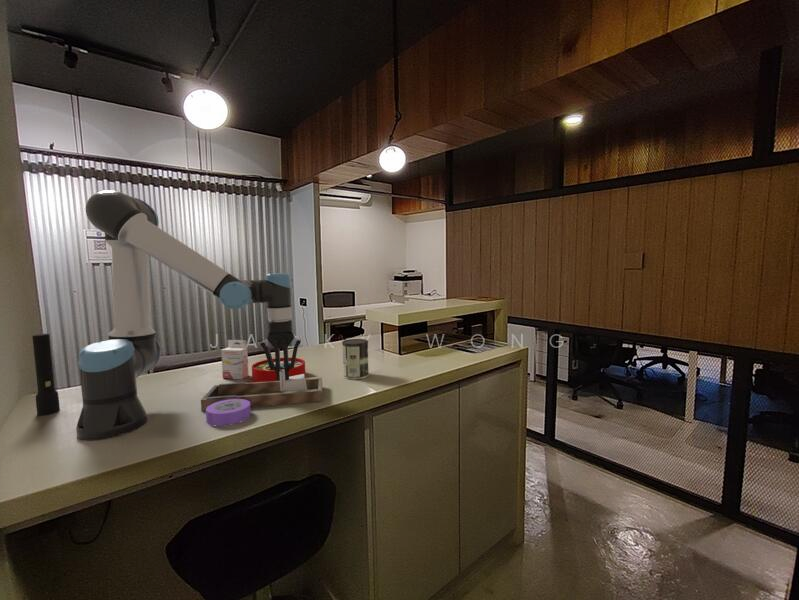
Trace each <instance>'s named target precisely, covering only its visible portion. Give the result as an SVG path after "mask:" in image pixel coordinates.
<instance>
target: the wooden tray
mask: <svg viewBox="0 0 799 600" xmlns="http://www.w3.org/2000/svg"><path fill="white" fill-rule="evenodd" d="M305 380H306V386H307V390H299V391H282V392H281V391H280V381H268V382H253V381H252V382H246V381H243V382H229V383H226V382H225V383H219V384H214V385H213V386H212V387H211V388H210V390H209V391H208V392H206V393H205V395H204V396H203V397H202V398H201V399H200V406H201V408H200V409H201V412H206V408H207V407H208V406H209V405H211V404H213V403H216V402H219V401H223V400H229V399H244V400H248V401H249V402H250V408H254V407H253V406H259V407H268V406H267V405H272V406H277V405H276V404H284V405H291V404H290V403H297V404H305V402H309V403H316V402H315V401H321V402H323V378H322V377H305ZM317 388H318V389H317ZM273 391H279V392H273ZM260 392H265V393H260ZM245 393H251V394H245Z"/></svg>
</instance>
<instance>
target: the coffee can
mask: <svg viewBox="0 0 799 600" xmlns="http://www.w3.org/2000/svg"><path fill="white" fill-rule="evenodd" d="M341 345H342V369H343V370H342V372H343V373H342V374H343V375H342V376H343V378H344V379H346V380H356V381H357V380H363V379H366V378H368V377H369V376H370V375H369V374H370V373H369V340H368V339H365V338H350V339H344V340H342V342H341Z"/></svg>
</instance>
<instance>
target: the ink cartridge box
mask: <svg viewBox="0 0 799 600" xmlns="http://www.w3.org/2000/svg"><path fill="white" fill-rule="evenodd" d="M237 343H238V344H237ZM221 371H222V379H223V378H233V379H232V380H244V379H245V378H247V377H249V356H248V345H247V340H246V339H245V340H243V339H227V347H226V348H222V349H221ZM243 378H244V379H243Z"/></svg>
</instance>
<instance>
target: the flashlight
mask: <svg viewBox="0 0 799 600" xmlns="http://www.w3.org/2000/svg"><path fill="white" fill-rule="evenodd" d="M31 338H32V346H33V354H34V355H33V356H34V364H35V365H34V366H35V367H34V368H35V377H36V383H37V393H36V394H35V405H36V415H37V416H47V415H51V414H55V413H58V412H60V398H59V392H58V390H56V388H55V386H56V385H55V377H54V366H53V358H52V349H51V348H52V347H51V339H50V333H38V334H33V335H32V337H31Z"/></svg>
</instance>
